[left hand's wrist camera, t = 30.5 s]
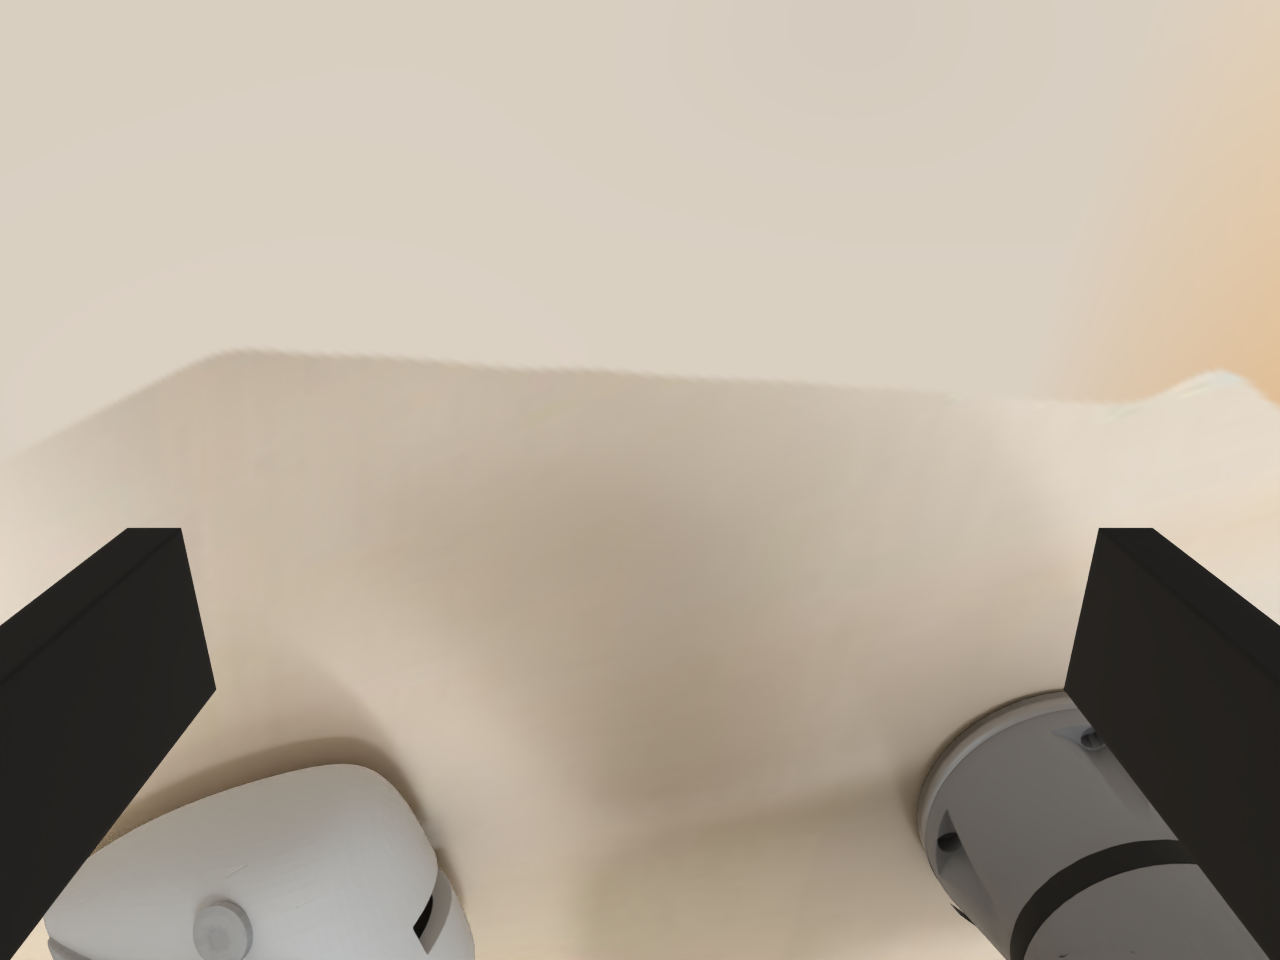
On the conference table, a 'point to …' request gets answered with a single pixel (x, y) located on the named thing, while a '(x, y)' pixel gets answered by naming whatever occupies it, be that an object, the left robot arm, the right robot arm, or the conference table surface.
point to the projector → (268, 880)
